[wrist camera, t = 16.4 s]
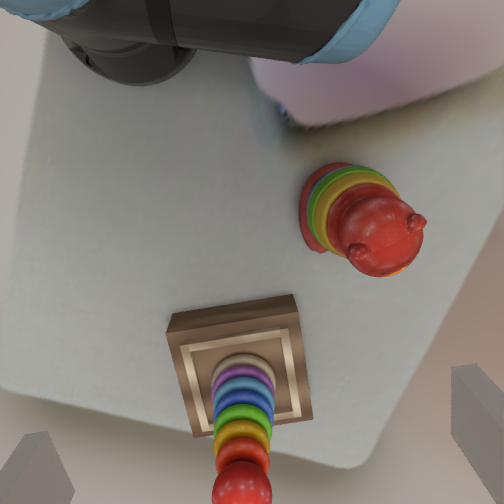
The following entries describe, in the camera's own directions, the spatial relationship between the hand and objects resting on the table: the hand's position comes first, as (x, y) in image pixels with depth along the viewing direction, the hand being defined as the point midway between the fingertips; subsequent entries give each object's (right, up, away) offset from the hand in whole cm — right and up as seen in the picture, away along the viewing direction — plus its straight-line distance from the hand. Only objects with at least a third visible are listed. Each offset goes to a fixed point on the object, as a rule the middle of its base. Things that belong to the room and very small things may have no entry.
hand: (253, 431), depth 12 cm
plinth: (-1, -8, +40) cm, 41 cm away
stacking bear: (+10, +12, +34) cm, 37 cm away
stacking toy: (-1, -10, +35) cm, 37 cm away
